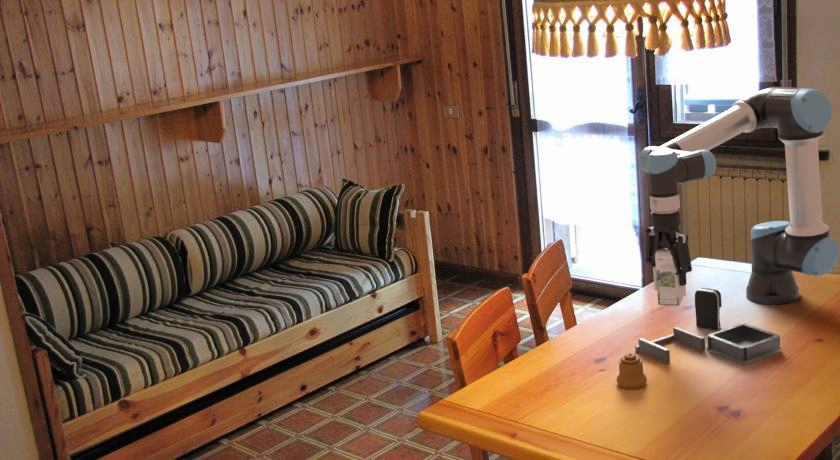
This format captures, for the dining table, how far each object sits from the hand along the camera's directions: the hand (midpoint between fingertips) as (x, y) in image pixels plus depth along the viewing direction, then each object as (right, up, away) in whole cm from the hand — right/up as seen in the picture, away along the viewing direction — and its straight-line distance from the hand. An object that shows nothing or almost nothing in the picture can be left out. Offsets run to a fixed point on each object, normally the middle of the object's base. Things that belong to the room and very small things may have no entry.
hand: (669, 292), depth 249 cm
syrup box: (0, -3, +1) cm, 3 cm away
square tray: (+19, -16, -1) cm, 25 cm away
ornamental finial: (-13, -23, -12) cm, 29 cm away
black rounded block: (+16, -11, +19) cm, 27 cm away
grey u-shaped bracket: (+2, -16, +4) cm, 17 cm away
